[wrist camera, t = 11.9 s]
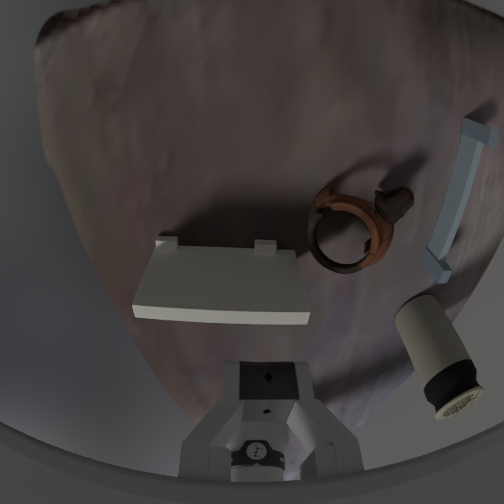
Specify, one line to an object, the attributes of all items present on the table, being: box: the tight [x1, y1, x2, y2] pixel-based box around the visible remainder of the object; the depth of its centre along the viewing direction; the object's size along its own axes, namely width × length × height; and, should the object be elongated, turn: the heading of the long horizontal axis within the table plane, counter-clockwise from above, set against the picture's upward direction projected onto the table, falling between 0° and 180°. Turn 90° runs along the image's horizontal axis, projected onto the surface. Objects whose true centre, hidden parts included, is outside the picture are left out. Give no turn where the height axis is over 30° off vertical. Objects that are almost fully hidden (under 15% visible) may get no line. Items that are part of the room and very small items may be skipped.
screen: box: [132, 236, 310, 324], centre depth 30 cm, size 4×16×10 cm, turn 86°
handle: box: [421, 118, 499, 283], centre depth 28 cm, size 20×2×5 cm, turn 176°
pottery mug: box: [307, 186, 414, 274], centre depth 29 cm, size 12×10×8 cm
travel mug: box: [395, 295, 484, 420], centre depth 34 cm, size 8×8×18 cm
